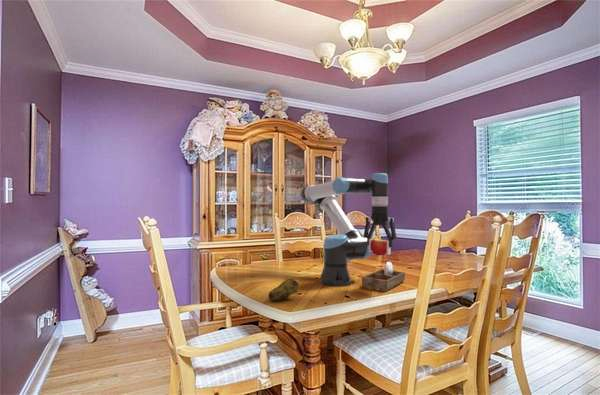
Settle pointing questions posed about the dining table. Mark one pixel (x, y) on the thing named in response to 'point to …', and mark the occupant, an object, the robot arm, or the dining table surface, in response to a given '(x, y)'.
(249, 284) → the dining table surface
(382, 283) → the wooden tray
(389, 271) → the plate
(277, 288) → the avocado
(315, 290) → the dining table surface
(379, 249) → the apple
